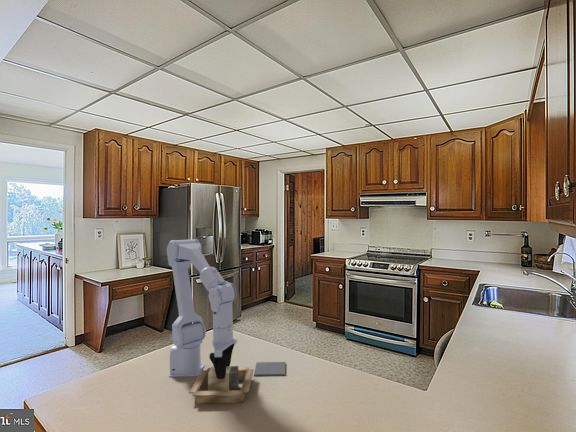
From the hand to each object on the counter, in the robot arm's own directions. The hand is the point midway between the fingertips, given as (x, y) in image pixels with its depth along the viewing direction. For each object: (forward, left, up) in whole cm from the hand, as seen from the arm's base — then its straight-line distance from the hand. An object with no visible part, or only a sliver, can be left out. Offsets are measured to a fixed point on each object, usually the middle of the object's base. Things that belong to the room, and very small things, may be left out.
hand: (223, 372), depth 94 cm
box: (0, 0, -5) cm, 5 cm away
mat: (+13, +13, -5) cm, 19 cm away
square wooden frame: (0, 0, -5) cm, 5 cm away
